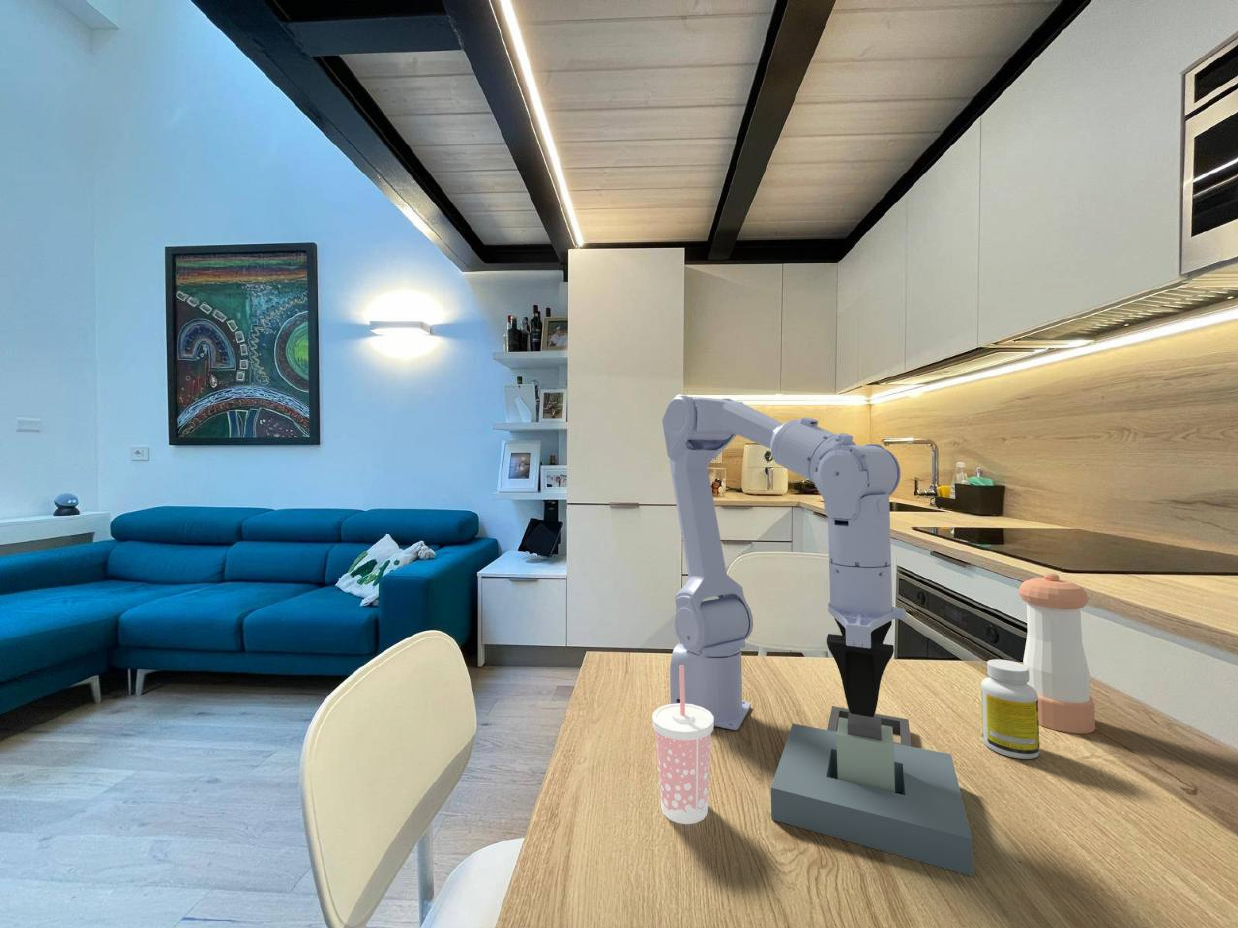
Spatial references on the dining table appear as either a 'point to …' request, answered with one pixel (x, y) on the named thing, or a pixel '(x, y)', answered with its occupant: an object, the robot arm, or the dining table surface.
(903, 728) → the grey rectangular frame
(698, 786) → the beverage cup
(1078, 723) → the pepper shaker
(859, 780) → the plug
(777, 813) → the port block
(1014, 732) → the supplement bottle
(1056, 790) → the dining table surface
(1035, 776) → the dining table surface
